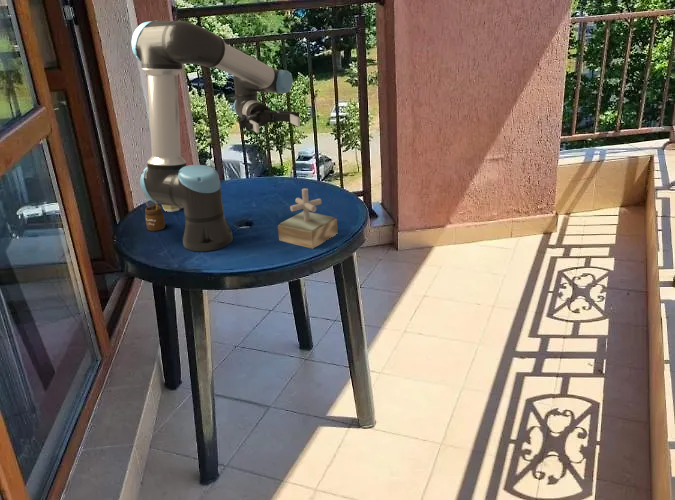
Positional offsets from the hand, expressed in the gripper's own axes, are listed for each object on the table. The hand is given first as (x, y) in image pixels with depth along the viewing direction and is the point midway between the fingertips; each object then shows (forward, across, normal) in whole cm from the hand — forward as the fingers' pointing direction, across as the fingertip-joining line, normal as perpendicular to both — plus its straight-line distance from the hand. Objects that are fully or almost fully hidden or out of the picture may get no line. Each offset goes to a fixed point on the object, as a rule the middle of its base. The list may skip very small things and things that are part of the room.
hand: (278, 125), depth 198 cm
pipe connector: (+16, -1, -27) cm, 31 cm away
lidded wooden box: (+16, -1, -32) cm, 36 cm away
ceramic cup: (-32, +30, -32) cm, 54 cm away
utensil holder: (-18, +39, -32) cm, 54 cm away
